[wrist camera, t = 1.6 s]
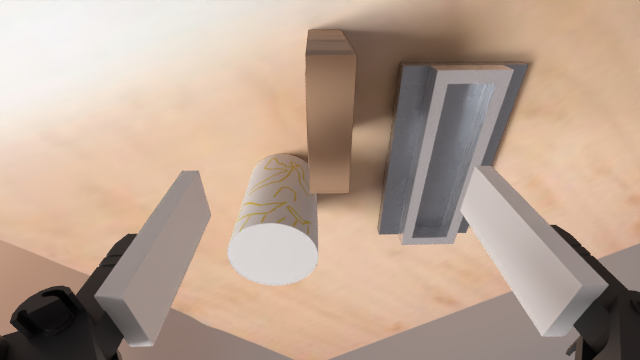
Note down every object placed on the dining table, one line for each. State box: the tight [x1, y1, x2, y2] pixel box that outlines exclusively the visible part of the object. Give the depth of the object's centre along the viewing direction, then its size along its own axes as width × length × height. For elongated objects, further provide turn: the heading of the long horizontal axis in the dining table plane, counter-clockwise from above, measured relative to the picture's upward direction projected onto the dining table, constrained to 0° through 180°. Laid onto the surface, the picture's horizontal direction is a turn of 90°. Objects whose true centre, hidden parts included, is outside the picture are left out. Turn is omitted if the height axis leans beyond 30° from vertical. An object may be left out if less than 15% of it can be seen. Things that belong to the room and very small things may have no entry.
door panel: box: [305, 30, 357, 194], centre depth 25 cm, size 10×3×12 cm, turn 0°
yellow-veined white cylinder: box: [227, 154, 318, 285], centre depth 31 cm, size 8×8×12 cm
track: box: [378, 62, 528, 245], centre depth 33 cm, size 22×12×3 cm, turn 0°
